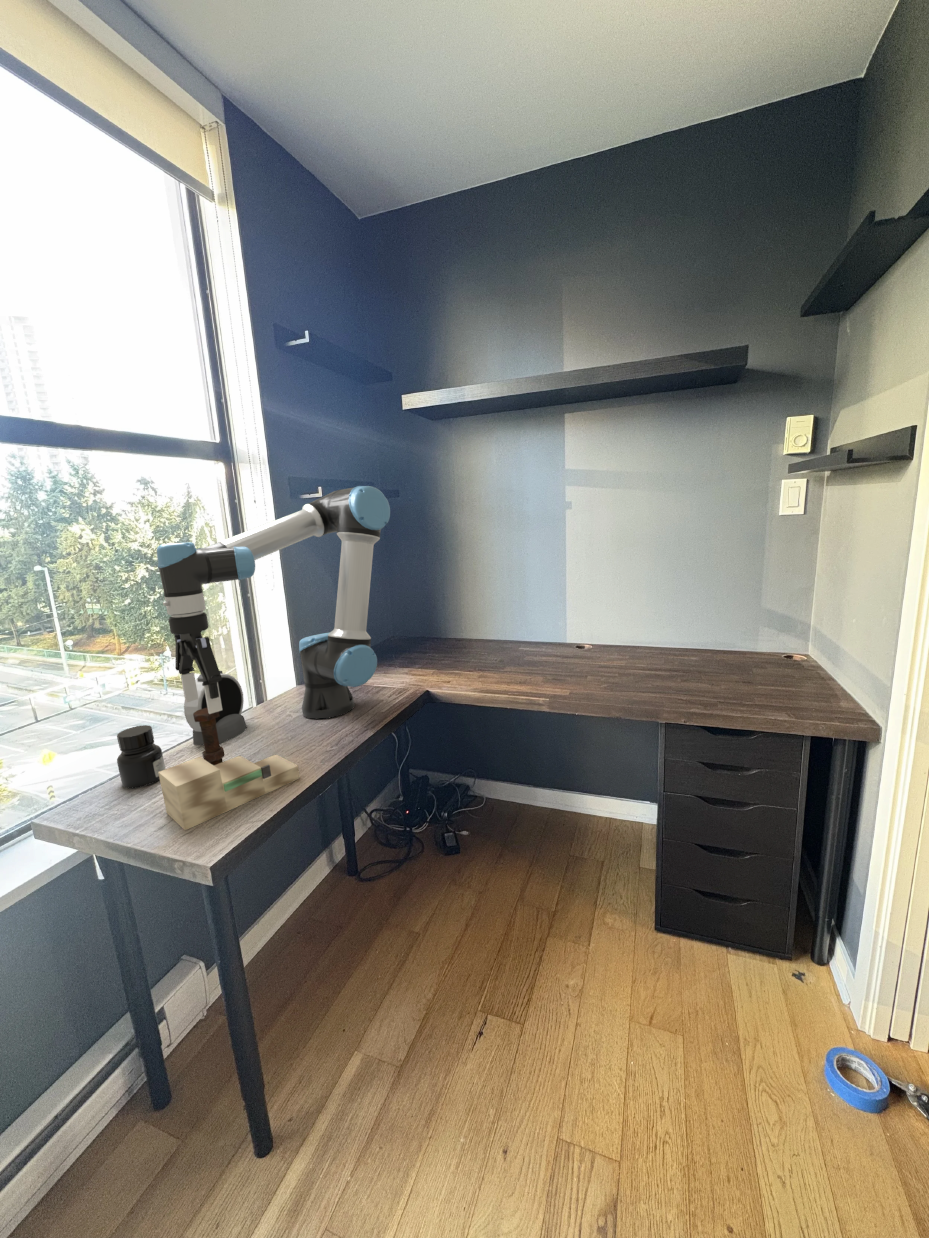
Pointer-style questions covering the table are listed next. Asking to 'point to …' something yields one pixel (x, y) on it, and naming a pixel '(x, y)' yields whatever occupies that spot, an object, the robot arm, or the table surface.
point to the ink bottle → (139, 757)
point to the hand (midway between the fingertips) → (203, 706)
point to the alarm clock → (229, 716)
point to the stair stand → (220, 786)
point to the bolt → (209, 736)
